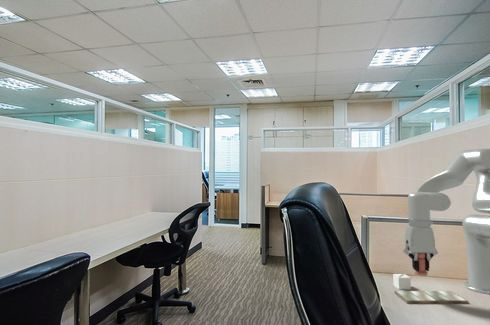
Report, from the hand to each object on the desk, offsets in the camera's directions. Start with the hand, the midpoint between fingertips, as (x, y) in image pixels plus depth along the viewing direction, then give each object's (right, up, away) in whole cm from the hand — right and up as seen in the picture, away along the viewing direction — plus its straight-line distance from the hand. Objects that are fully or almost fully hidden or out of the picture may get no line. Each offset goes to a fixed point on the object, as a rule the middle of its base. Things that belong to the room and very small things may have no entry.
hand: (420, 269), depth 118 cm
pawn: (0, -2, 0) cm, 2 cm away
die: (-1, -12, +12) cm, 17 cm away
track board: (+3, -11, -1) cm, 12 cm away
